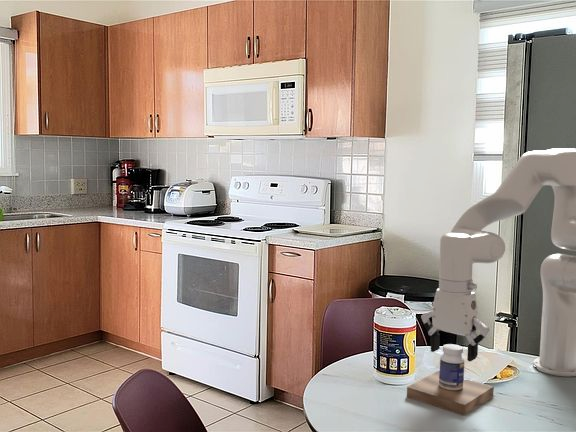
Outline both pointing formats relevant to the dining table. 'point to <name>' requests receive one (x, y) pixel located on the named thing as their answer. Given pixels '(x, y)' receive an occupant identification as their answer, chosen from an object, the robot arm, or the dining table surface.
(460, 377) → the pill bottle
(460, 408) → the walnut board
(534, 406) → the dining table surface
